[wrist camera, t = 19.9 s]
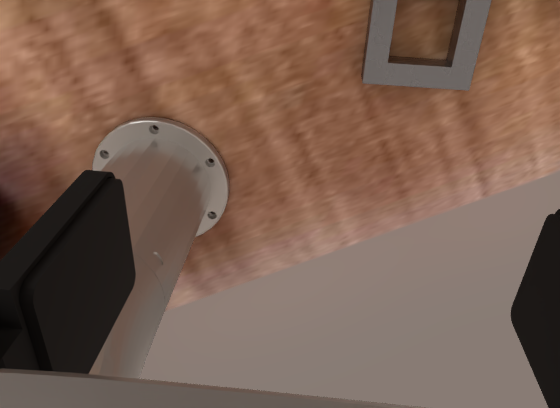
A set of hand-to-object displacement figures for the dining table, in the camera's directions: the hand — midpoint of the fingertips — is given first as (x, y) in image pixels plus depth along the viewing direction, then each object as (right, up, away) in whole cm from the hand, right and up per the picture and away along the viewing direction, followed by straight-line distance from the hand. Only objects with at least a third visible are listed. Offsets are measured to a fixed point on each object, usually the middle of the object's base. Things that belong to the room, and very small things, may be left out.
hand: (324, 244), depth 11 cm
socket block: (+10, +14, +26) cm, 31 cm away
